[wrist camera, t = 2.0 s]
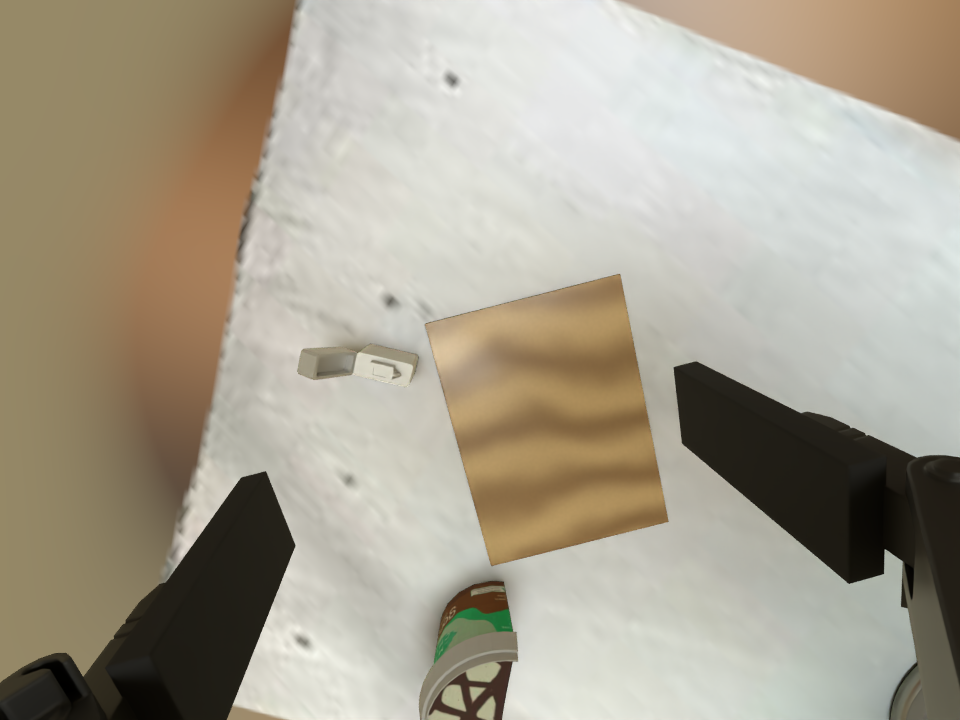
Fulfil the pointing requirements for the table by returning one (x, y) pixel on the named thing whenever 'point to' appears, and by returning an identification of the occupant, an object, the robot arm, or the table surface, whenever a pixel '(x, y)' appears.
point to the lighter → (359, 364)
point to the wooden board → (550, 419)
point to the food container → (471, 657)
